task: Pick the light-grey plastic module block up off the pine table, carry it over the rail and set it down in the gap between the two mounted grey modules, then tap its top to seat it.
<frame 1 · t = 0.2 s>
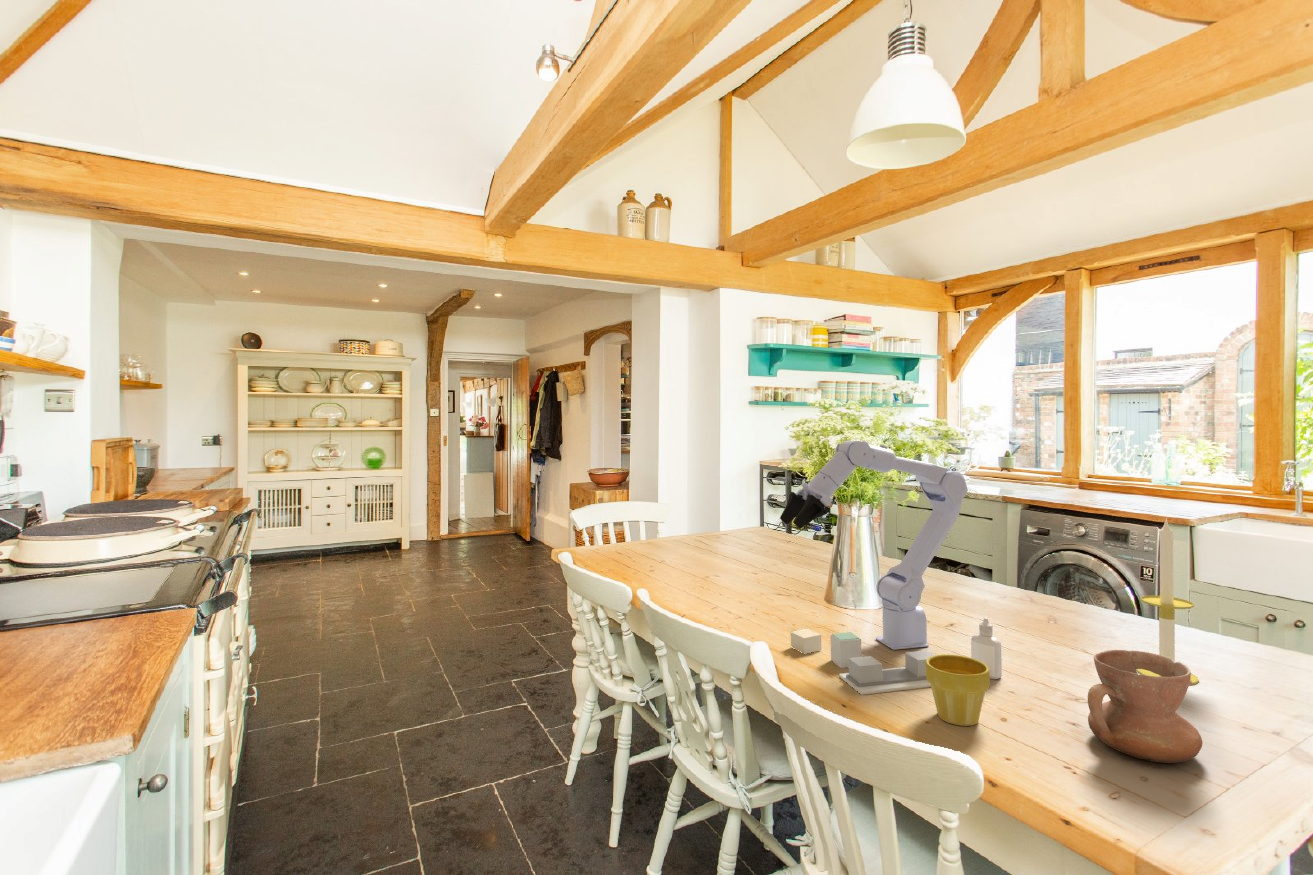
hand: (789, 523, 143), 31 cm above the table, tool tilted 45°, fingers open, 7 cm apart
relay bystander: (806, 649, 147), on the table
eye dropper bottle: (986, 675, 130), on the table
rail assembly: (894, 680, 128), on the table
module: (846, 663, 138), on the table
candle: (1167, 676, 128), on the table
plant pot: (957, 718, 112), on the table
ceramic jug: (1139, 750, 100), on the table
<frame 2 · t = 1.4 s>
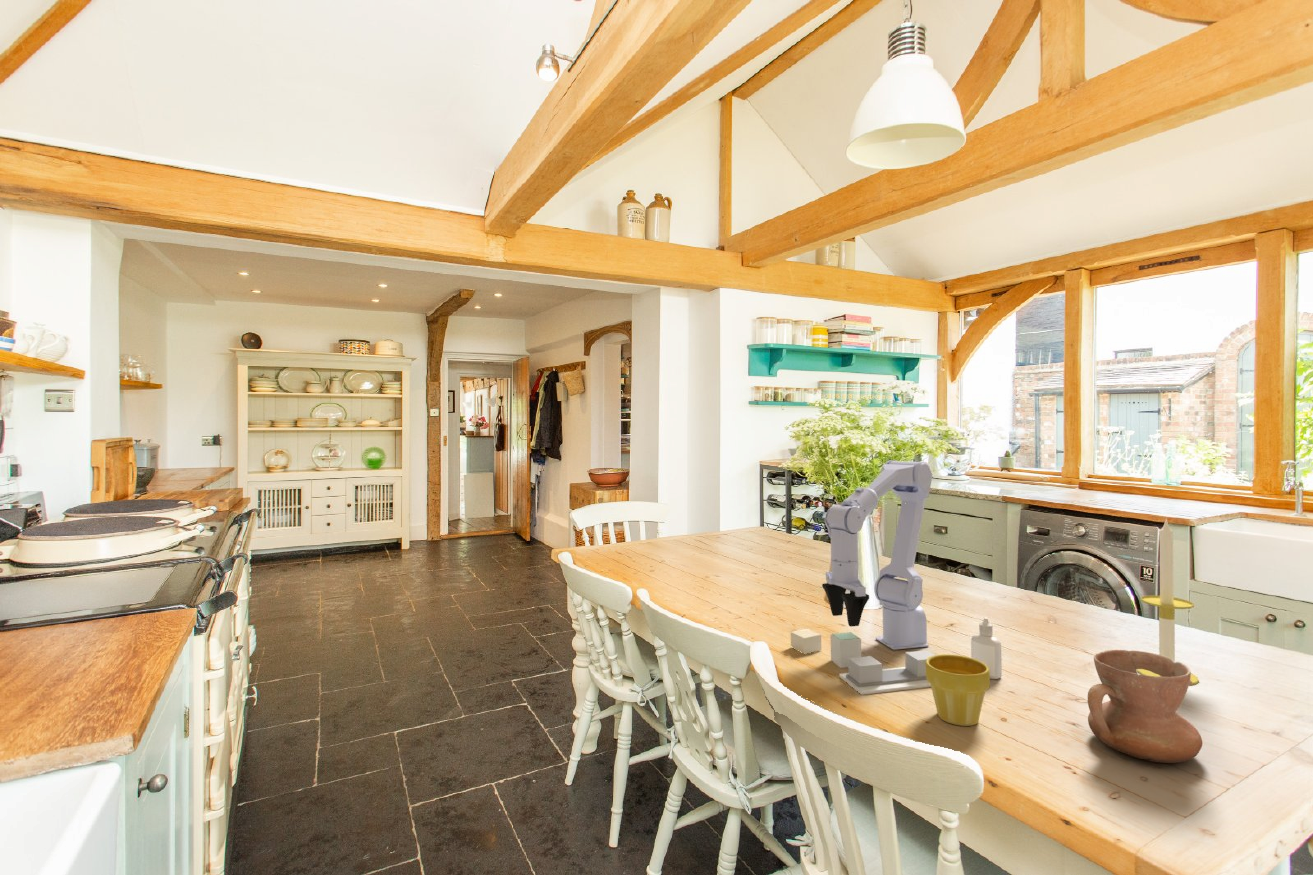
hand: (845, 620, 138), 10 cm above the table, tool pointing down, fingers open, 7 cm apart
nothing on the table moved.
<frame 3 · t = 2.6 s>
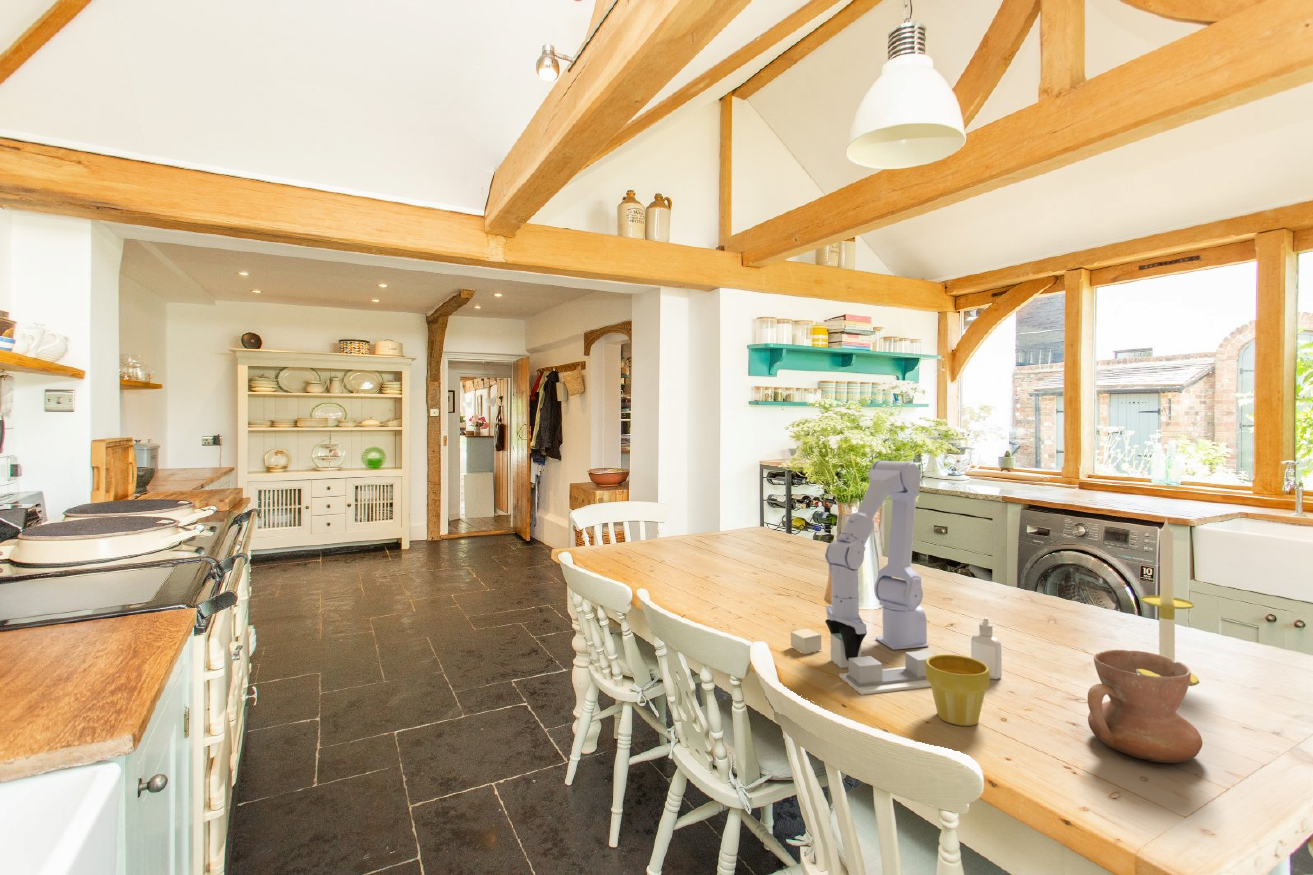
hand: (846, 655, 138), 2 cm above the table, tool pointing down, fingers closed on module, 4 cm apart
module: (846, 663, 138), on the table, touching gripper
everything else where it was.
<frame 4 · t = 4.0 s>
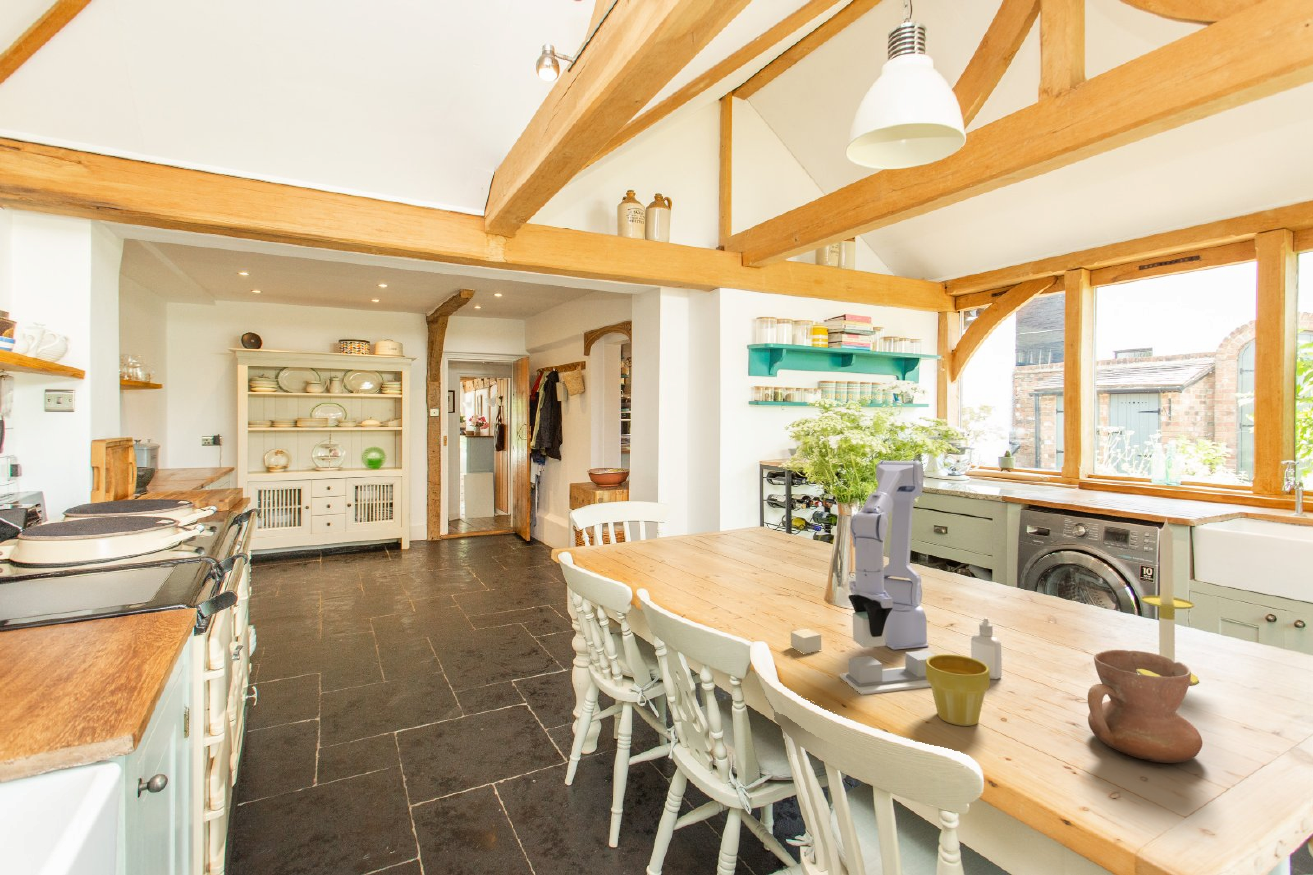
hand: (870, 632, 133), 9 cm above the table, tool pointing down, fingers closed on module, 4 cm apart
module: (869, 643, 133), point 6 cm above the table, touching gripper
everything else where it was.
when the fingers open (4 cm above the table, at t = 5.6 s): module stays where it is, resting on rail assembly.
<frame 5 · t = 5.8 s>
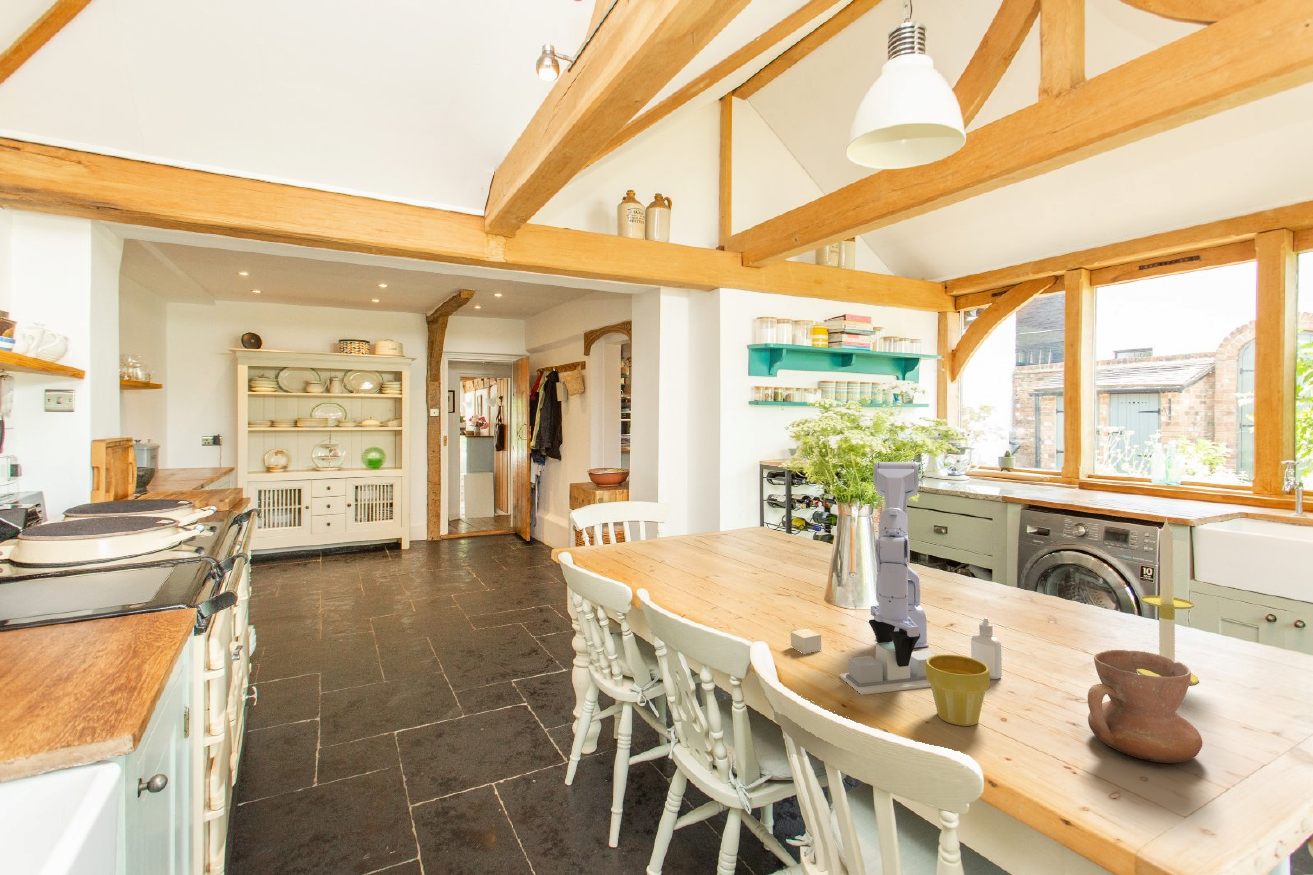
hand: (894, 659, 128), 4 cm above the table, tool pointing down, fingers open, 6 cm apart
module: (892, 675, 128), point 1 cm above the table, touching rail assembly
everything else where it was.
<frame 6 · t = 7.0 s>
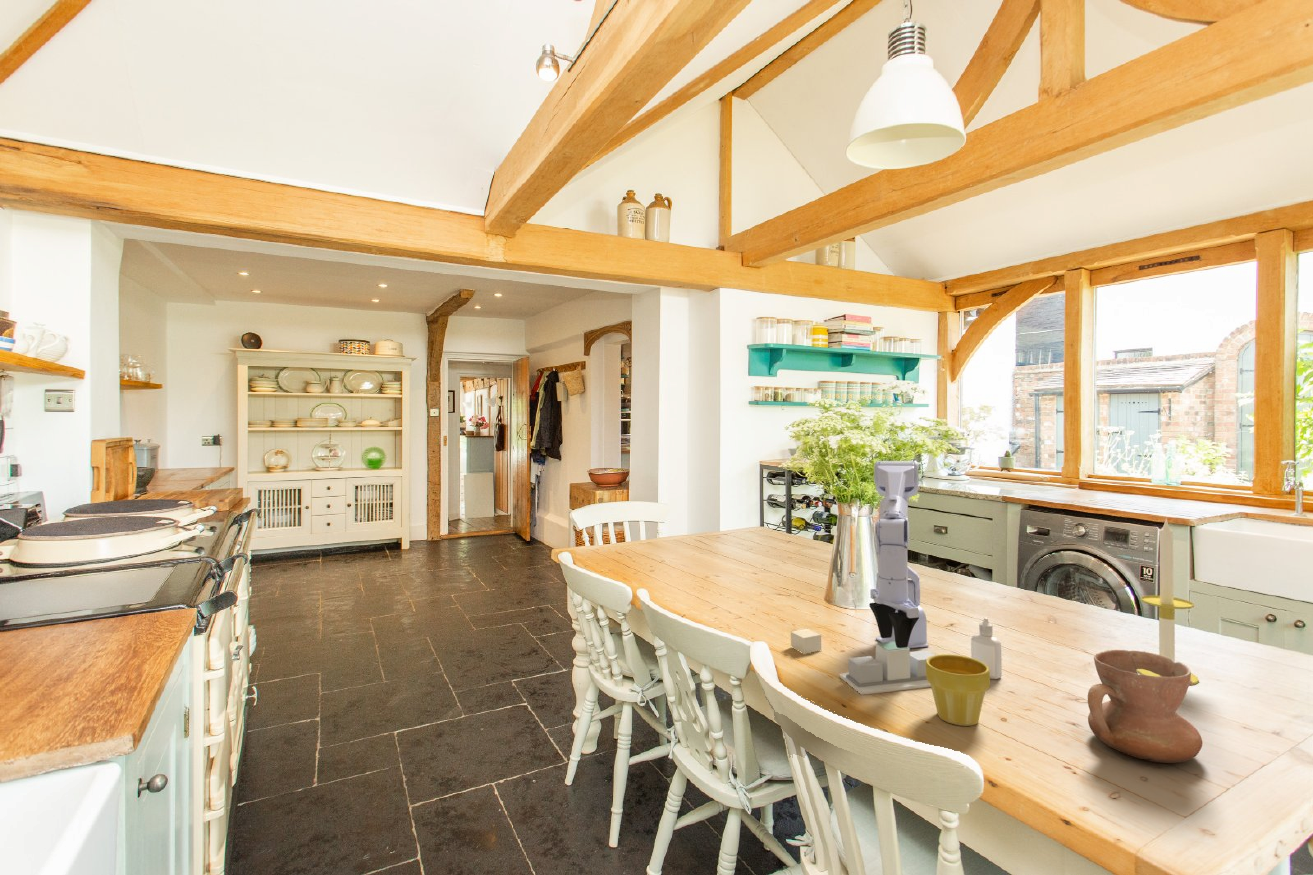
hand: (893, 642, 128), 8 cm above the table, tool pointing down, fingers open, 5 cm apart
nothing on the table moved.
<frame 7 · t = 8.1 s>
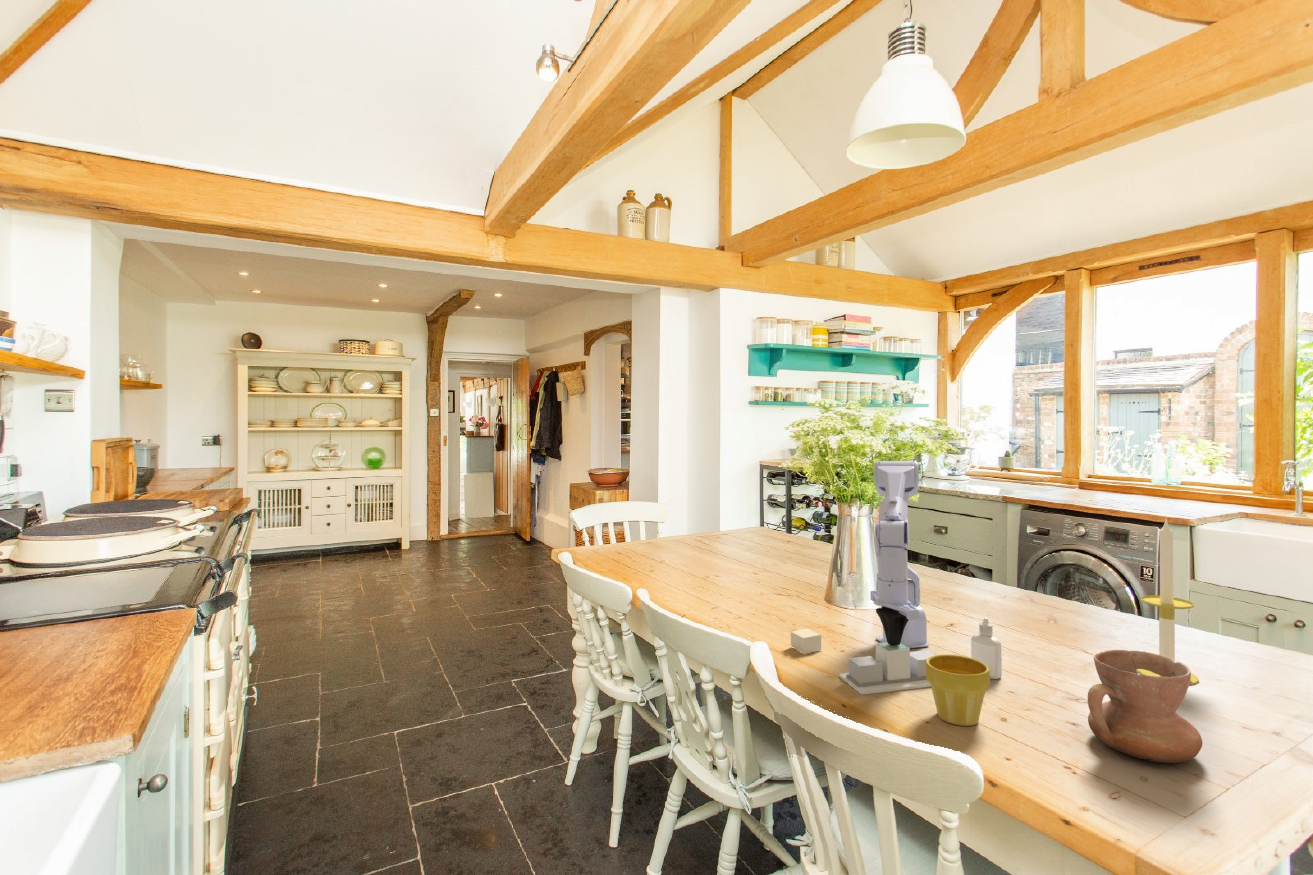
hand: (893, 644, 128), 8 cm above the table, tool pointing down, fingers closed
nothing on the table moved.
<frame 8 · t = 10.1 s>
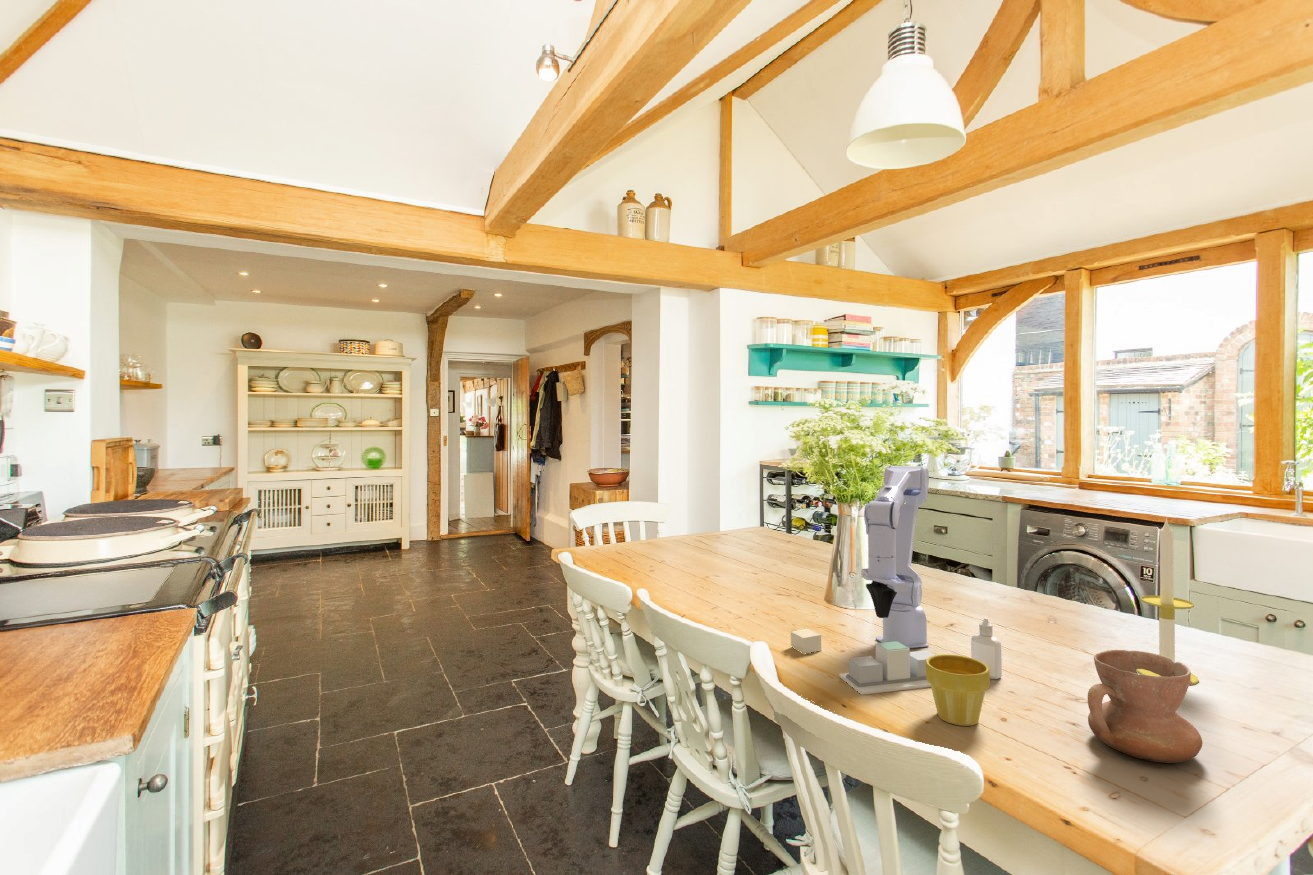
hand: (882, 617, 137), 10 cm above the table, tool pointing down, fingers closed
nothing on the table moved.
at the end: module 0.3 cm off-centre on the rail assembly, point 1.2 cm above the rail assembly's base; module tilted 0°; the gripper is holding nothing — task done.
